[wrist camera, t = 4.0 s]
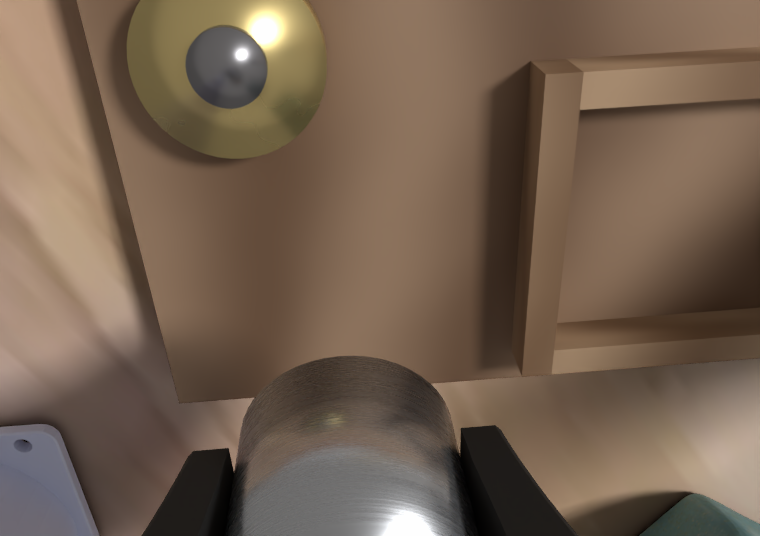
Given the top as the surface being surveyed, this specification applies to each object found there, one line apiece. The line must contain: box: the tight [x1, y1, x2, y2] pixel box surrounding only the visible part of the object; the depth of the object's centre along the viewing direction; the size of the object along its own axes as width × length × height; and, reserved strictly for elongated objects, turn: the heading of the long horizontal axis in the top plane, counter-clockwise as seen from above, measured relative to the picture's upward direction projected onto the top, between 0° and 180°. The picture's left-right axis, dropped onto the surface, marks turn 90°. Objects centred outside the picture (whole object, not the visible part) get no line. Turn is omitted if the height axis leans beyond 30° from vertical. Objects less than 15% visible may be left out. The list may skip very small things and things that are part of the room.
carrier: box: [76, 0, 760, 403], centre depth 16 cm, size 18×12×2 cm, turn 92°
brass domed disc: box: [127, 0, 327, 159], centre depth 14 cm, size 4×4×1 cm
